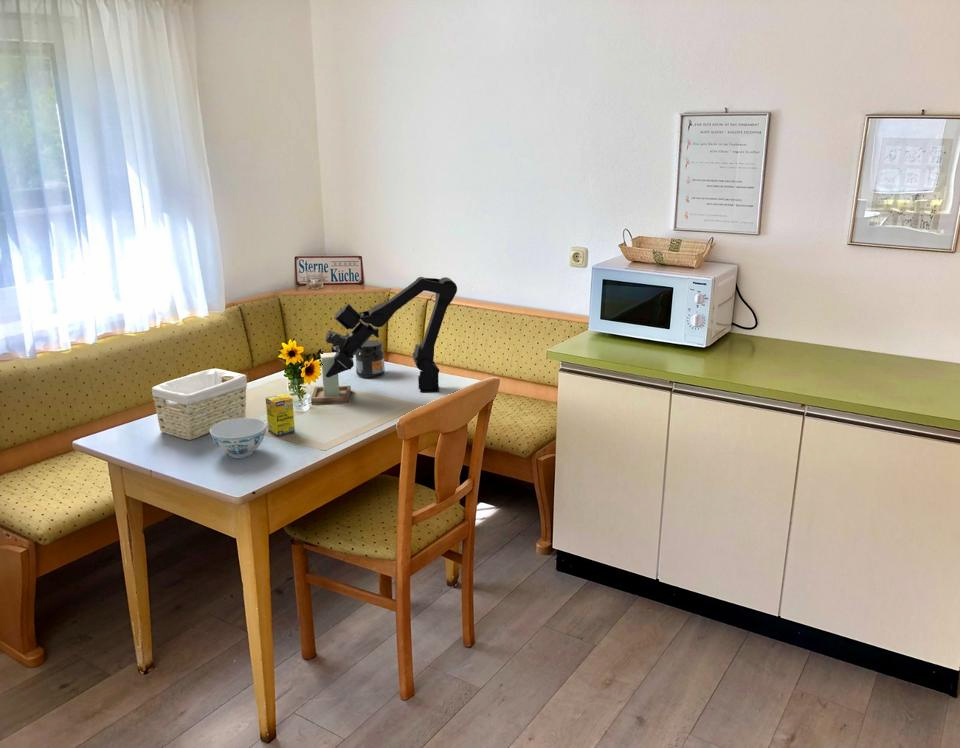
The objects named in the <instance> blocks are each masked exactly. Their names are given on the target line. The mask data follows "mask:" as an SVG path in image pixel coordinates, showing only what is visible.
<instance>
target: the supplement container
mask: <svg viewBox="0 0 960 748" xmlns="http://www.w3.org/2000/svg"><path fill="white" fill-rule="evenodd" d="M354 357H355V369H356V371H355V374H356V376H358V377H360V378H361V377H362V378H363V379H378V378H381V377H382V376H384V375H385V373H386V368H385V367H386V365H385V351H384V350H383V342H382V341H380V340H377V339H376V340H375V339H368V340H367V341H366V342H365V343H364V344H363V346H362V349H361V350H360V349H359V350H358V351H357V352H356V353H355V354H354Z"/></svg>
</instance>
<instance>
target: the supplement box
mask: <svg viewBox="0 0 960 748" xmlns="http://www.w3.org/2000/svg"><path fill="white" fill-rule="evenodd" d="M265 408H266V418H267V419H266V420H267V430H268V432H269V433H270V434H271V435H273V436H275V437H277V438H279V437H281V436H286V435H288V433H289V434H293V433H296V431H295V430H296V428H295V416H294V402H293V397H291V396H289V395H287V394H285V393H281V394H277V395H272V396H267V397H265Z"/></svg>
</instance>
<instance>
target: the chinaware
mask: <svg viewBox="0 0 960 748" xmlns="http://www.w3.org/2000/svg"><path fill="white" fill-rule="evenodd" d="M266 432H267V423H266V422H265V421H264V420H261V419H259V418H255V417H246V418H237V419H231V420H226V421H223V422H220V423H218V424H216V425H214V426H213V427H212V428H211V429H210V433H209V434H210V436H211V439H212V440H213V442H214V444H215V445H216V447H218V448H219V449H220V450H221V451H222V452H224V453H227V454H228V456H229V457H230V456H232V457H231V458H233V457H242V458H246V457H245V456H247V457H249V456H251V455H252V454H253V453H254V450H256V449H257V448H258V447H259V446H260V445H261V443H262V442H263V440H264V439H265V436H266ZM250 454H251V455H250ZM248 455H249V456H248Z"/></svg>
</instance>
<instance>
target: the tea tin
mask: <svg viewBox="0 0 960 748" xmlns="http://www.w3.org/2000/svg"><path fill="white" fill-rule="evenodd" d="M321 353H323V354H321ZM321 353H319V354H320V362H321V361H322V364H323V365H322V364H321V376H322V377H321V378H322V386H323V393H324V397H337V396H339V386H340V383H339V382H340V381H339V373H338V374H336V375H333V376H331V377H329V378H327V377H326V374H327V372H328V371H329V369H330V368H331V366H332V365H333V363H334V356H335V355H336V352H334V353H332V352H321Z"/></svg>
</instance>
